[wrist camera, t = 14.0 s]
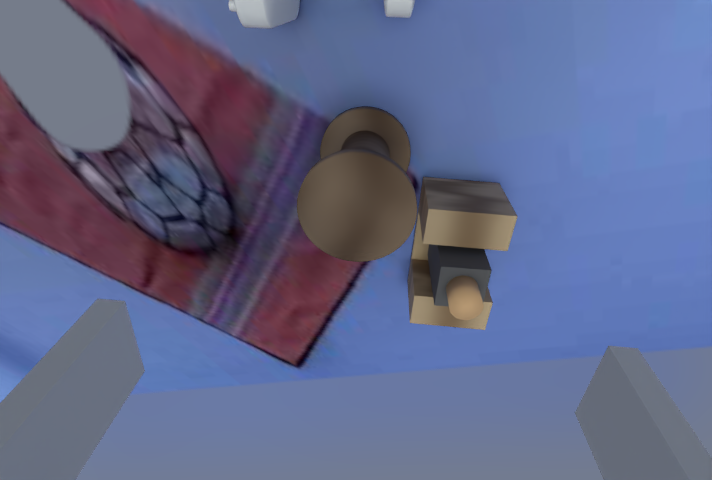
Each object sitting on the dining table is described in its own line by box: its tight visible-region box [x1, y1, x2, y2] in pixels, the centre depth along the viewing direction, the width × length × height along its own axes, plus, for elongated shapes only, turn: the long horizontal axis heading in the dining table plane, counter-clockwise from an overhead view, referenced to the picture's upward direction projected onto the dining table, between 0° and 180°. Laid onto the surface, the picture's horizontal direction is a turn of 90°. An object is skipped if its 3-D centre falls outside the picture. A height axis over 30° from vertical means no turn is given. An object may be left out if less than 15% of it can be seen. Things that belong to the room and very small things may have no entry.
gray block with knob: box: [427, 244, 491, 320], centre depth 38 cm, size 4×4×10 cm
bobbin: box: [297, 106, 417, 262], centre depth 34 cm, size 8×8×12 cm
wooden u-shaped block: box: [408, 177, 517, 330], centre depth 40 cm, size 7×12×7 cm, turn 177°
